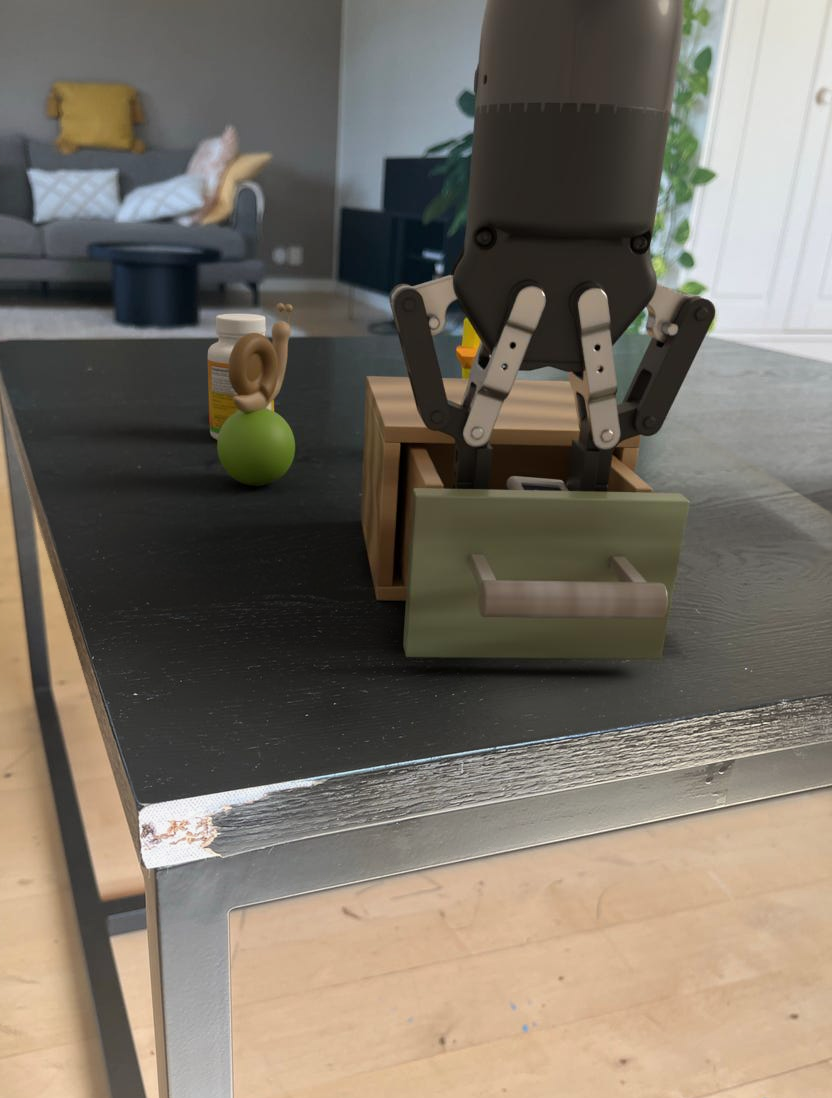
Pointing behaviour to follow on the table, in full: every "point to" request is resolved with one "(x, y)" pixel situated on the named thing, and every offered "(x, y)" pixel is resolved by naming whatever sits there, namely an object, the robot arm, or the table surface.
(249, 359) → the snail figurine
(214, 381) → the supplement bottle
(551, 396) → the cabinet
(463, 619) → the drawer
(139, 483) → the table surface
